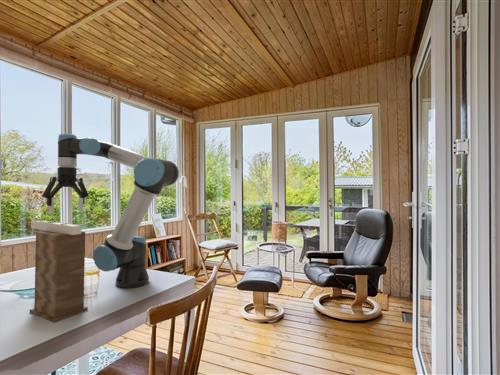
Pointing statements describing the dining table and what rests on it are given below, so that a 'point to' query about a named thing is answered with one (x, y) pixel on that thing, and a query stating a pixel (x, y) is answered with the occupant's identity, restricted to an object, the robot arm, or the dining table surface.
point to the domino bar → (56, 227)
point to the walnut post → (59, 275)
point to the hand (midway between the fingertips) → (66, 212)
